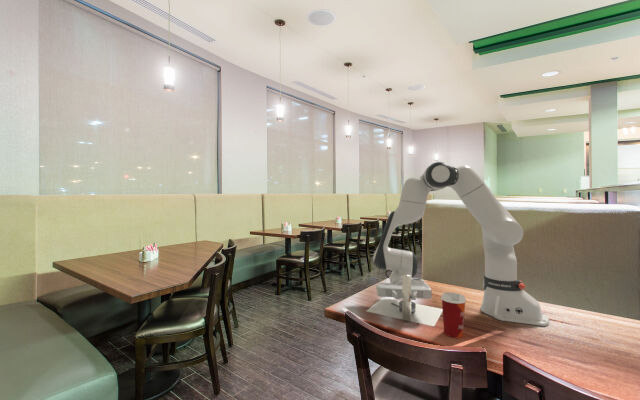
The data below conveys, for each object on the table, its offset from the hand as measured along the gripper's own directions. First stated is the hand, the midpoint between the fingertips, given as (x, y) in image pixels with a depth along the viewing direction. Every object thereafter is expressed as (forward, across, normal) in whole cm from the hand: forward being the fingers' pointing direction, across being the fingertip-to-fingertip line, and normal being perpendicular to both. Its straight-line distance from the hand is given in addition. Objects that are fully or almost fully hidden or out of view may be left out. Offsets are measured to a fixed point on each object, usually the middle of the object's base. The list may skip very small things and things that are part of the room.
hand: (405, 297), depth 105 cm
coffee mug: (-49, +1, +10) cm, 50 cm away
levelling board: (-13, +1, +10) cm, 16 cm away
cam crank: (-10, +2, +9) cm, 14 cm away
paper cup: (+5, +15, +11) cm, 19 cm away
